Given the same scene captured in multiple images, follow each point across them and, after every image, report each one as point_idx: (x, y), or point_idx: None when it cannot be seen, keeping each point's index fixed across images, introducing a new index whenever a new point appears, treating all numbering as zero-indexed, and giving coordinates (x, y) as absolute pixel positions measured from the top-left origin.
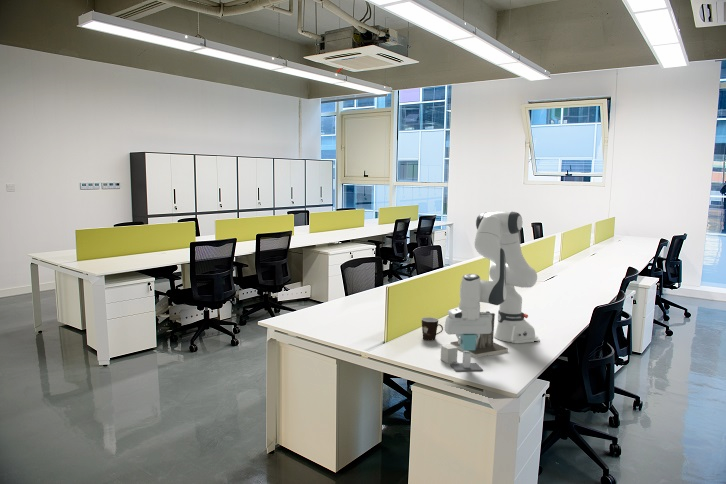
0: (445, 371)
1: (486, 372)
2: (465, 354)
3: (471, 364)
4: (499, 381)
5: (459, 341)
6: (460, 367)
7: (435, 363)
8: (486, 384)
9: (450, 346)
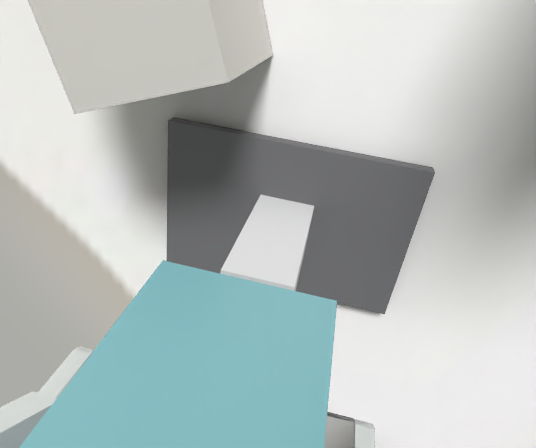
0: (99, 230)
1: (393, 332)
2: None
3: (358, 197)
4: (377, 444)
5: None
6: (224, 226)
7: None
8: None
9: (130, 8)
